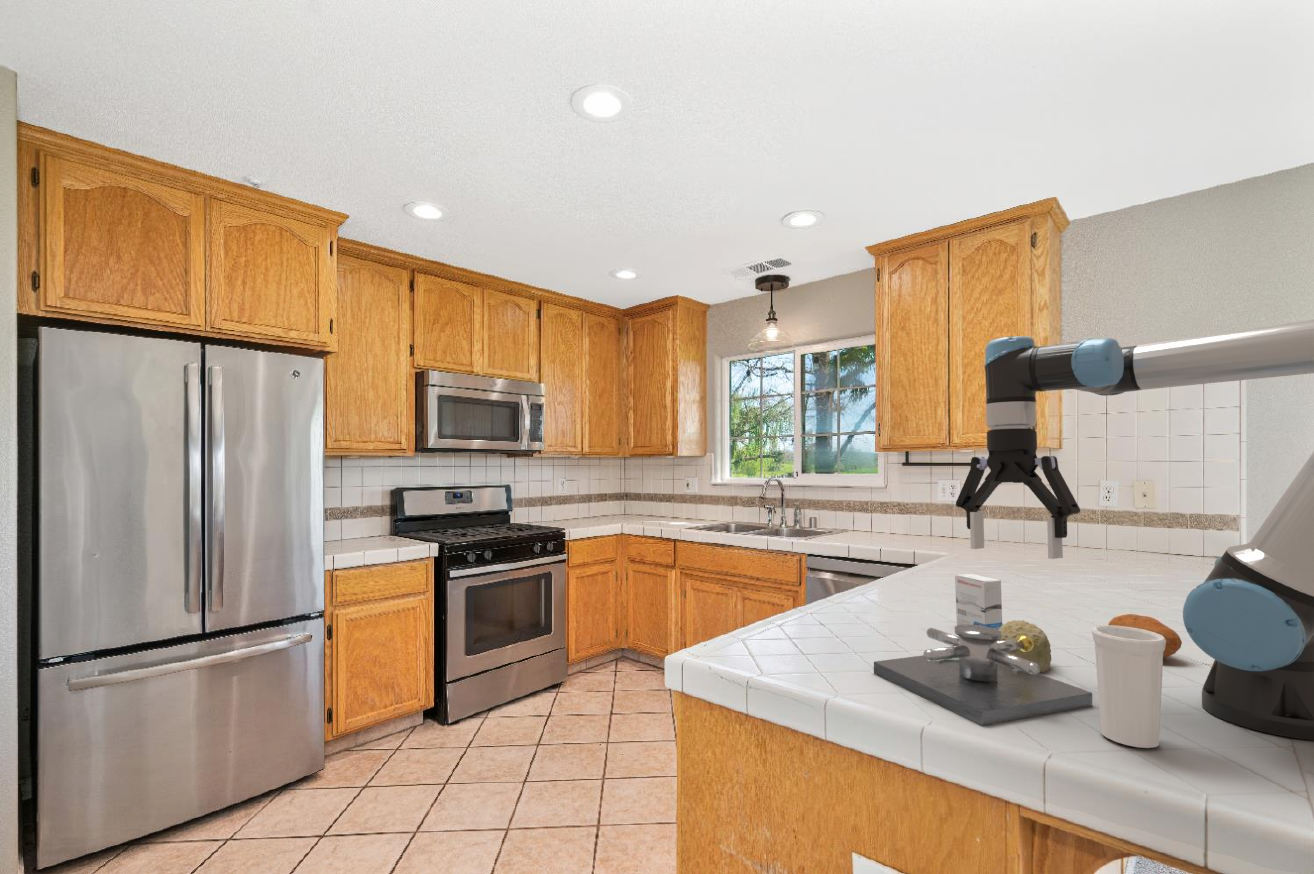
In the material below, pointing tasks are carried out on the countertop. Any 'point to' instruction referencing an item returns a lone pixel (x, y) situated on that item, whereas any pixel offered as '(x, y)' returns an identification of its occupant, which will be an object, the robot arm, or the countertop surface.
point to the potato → (1151, 625)
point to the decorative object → (1040, 640)
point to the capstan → (981, 651)
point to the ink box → (978, 601)
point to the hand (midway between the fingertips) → (1014, 553)
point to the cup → (1129, 683)
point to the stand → (983, 690)
